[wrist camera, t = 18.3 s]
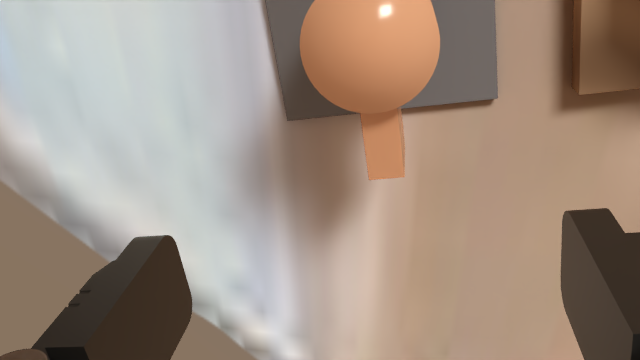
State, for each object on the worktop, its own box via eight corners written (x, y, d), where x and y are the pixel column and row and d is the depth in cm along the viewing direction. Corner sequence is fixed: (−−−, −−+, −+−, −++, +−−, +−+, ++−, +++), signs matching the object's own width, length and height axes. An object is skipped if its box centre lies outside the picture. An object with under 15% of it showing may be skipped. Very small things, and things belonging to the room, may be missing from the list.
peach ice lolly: (320, -37, 30) (288, -16, 22) (426, -54, 29) (434, -38, 21) (344, 124, 34) (324, 193, 26) (439, 114, 33) (450, 183, 25)
